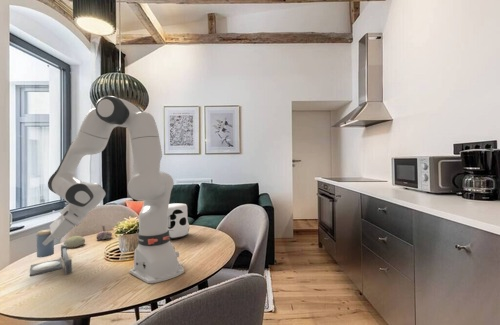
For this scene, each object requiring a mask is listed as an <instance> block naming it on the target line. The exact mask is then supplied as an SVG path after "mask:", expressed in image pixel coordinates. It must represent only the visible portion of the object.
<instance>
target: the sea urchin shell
mask: <svg viewBox="0 0 500 325" xmlns="http://www.w3.org/2000/svg"><path fill="white" fill-rule="evenodd" d="M85 243H86V239H85V237H83V236H81V235H73V236H69V237H68V238H66V239H65V240H64V242H63V245H67V249H68V248H73V249H74V248H77V247H80V246H84V244H85Z"/></svg>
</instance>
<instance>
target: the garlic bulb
mask: <svg viewBox="0 0 500 325" xmlns="http://www.w3.org/2000/svg"><path fill="white" fill-rule="evenodd" d="M112 237H113V233H112V232H111V231H108V230H106V228H105V225H104V224H103V225H102V231H100V232H98V233H97V234H96V240H98V241H101V240H107V239H111V238H112Z"/></svg>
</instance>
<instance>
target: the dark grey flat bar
mask: <svg viewBox="0 0 500 325" xmlns="http://www.w3.org/2000/svg"><path fill="white" fill-rule="evenodd" d="M60 254H61V255H60V256H61V258H62V261H63V263H64V264H63V265H64V271H65V272H64V274H65V275H66V276H67V275H71V274H73V264H72V263H73V262H72V259H71V258H69V253H68V247H67V245H64V244H61V245H60Z"/></svg>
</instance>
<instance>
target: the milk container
mask: <svg viewBox="0 0 500 325" xmlns="http://www.w3.org/2000/svg"><path fill="white" fill-rule="evenodd" d="M168 230H169V234H170V240H175V239H181V238H184V237H186V236H187V235H188V234H189V232H190V224H189V221H188V205H187V204H186V203H177V202H176V203H175V202H174V203H169V206H168Z"/></svg>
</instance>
